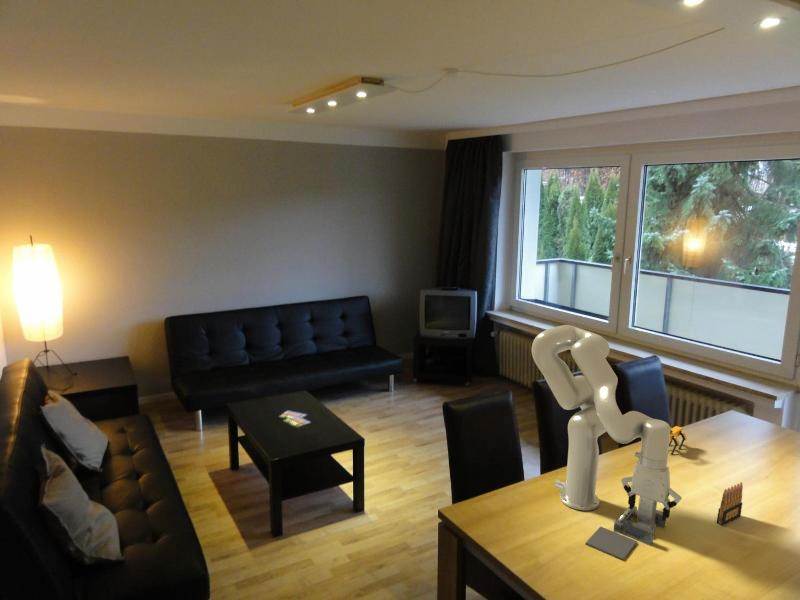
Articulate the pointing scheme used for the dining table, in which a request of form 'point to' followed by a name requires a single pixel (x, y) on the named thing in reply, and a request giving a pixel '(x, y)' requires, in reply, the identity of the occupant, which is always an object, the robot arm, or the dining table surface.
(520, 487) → the dining table surface
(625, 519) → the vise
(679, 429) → the robot dog
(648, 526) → the steel post
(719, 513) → the ammunition clip
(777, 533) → the dining table surface
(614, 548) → the mat
